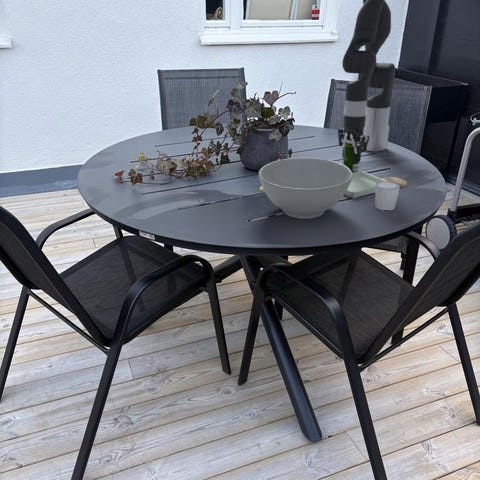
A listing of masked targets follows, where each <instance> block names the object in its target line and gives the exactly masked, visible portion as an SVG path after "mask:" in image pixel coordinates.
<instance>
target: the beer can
mask: <svg viewBox="0 0 480 480" xmlns="http://www.w3.org/2000/svg"><path fill="white" fill-rule="evenodd" d="M355 143H356V144H359V143H360V141H359V142H355ZM357 149H358V150H359V146H357ZM354 153H355V151H354V147H353V143H352V140H351V139H348V138H347V139H346V140H345V145H344V158H343V157H342V164H343V165H345V166H346V167H348V168H349V169H350V170H351V171H352V173H354V172H358V171H359V163H357V164H355V163H354Z"/></svg>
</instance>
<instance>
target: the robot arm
mask: <svg viewBox="0 0 480 480" xmlns="http://www.w3.org/2000/svg"><path fill="white" fill-rule="evenodd" d="M391 12H392V11H391V8H390V6H389V4H388V3H387V2H386V0H362V6H361V7H360V10H359V12H358V13H357V15H356V20H355V25H354V29H353V35H352V37H351V40H350V43H349V46H348V47H347V49H346V51H345V53H344V55H343V59H342V65H341V66H342V69H343V71H344V72H345V73H347V74H359V75H360V74H361V77H360V79H356V80H351V81H349V82H347V84H346V87H345V88H346V89H345V99H344V100H345V101H344V107H343V117H342V118H343V120H342V126H343V128H339V129H337V134H338V135H337V136H338V146H339V147H341V149H342V159H343V158H344V145H345V140H346V139H347V138H348V139H351V140H352V143H353V147H354V151H355V153H354V163H355V164H357V163H358V164H359V163H361V159H362V153H366V152H382V151H385V150H386V149H388V142H389V134H390V124H389V120H390V119H389V118H390V112H391V111H390V110H391V103H392V95H393V90H394V89H393V88H394V85H395V83H394V82H395V76H396V65H395V64H394V63H391V62H389V63H388V62H377V54H378V53H379V51H380V49H381V48H382V47H383V46H384V43H385V42H386V41H387V39H388V37H389V36H390V33H391V30H392V13H391ZM363 46H364V50H360V49H362V47H363ZM369 89H382V91H381V92H380V93H379V94H377V95H374V96H373V95H372V96H369V97H368V90H369ZM359 141H360V143H359V144H356V143H355V142H359ZM357 146H359V150H358V149H357Z"/></svg>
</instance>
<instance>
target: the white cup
mask: <svg viewBox="0 0 480 480" xmlns="http://www.w3.org/2000/svg"><path fill="white" fill-rule="evenodd" d="M400 189H401V188H400V186H399V185H398V184H397V183H394V182H388V181H383V182H378V183H376V192H375V193H374V194H375V200H374V201H375V202H374V204H375V205H374V207H375V208H376V209H377V210H380V211H384V210H390V211H393V210H395V208H396V204H397V199H398V196H399V191H400Z"/></svg>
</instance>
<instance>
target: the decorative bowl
mask: <svg viewBox="0 0 480 480" xmlns="http://www.w3.org/2000/svg"><path fill="white" fill-rule="evenodd" d="M352 177H353V174H352V171H351V170H350V169H349V168H348V167H346V166H345V165H343V163H340V162H337V161H334V160H329V159H324V158H317V157H316V158H315V157H293V158H292V157H290V158H285V159H279V160H275V161H272V162H269V163H267V164H265V165H263V166H262V167H261V168H260V169H259V171H258V179H259V181H260V185H261V187H262V189H263V191H264V193H265V194H266V196H267V197H268V199H269V200H270V201H271V202H272V203H273V204H274V205H275V206H276V207H278V208H279V209H280V210H282V212H283V213H284V214H285V215H286V216H288V217H291V218H294V219H300V220H305V219H306V220H308V219H315V218H319V217H321V216H322V215H323V214H324V213H325V212H326V211H328V210H329V209H331V208H333V207H334V206H335V205H336V204H338V203H339V202H340V200H341V199H342V198H343V197H344V194H345V192H346V191H347V189H348V187H349V185H350V183H351V180H352Z"/></svg>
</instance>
